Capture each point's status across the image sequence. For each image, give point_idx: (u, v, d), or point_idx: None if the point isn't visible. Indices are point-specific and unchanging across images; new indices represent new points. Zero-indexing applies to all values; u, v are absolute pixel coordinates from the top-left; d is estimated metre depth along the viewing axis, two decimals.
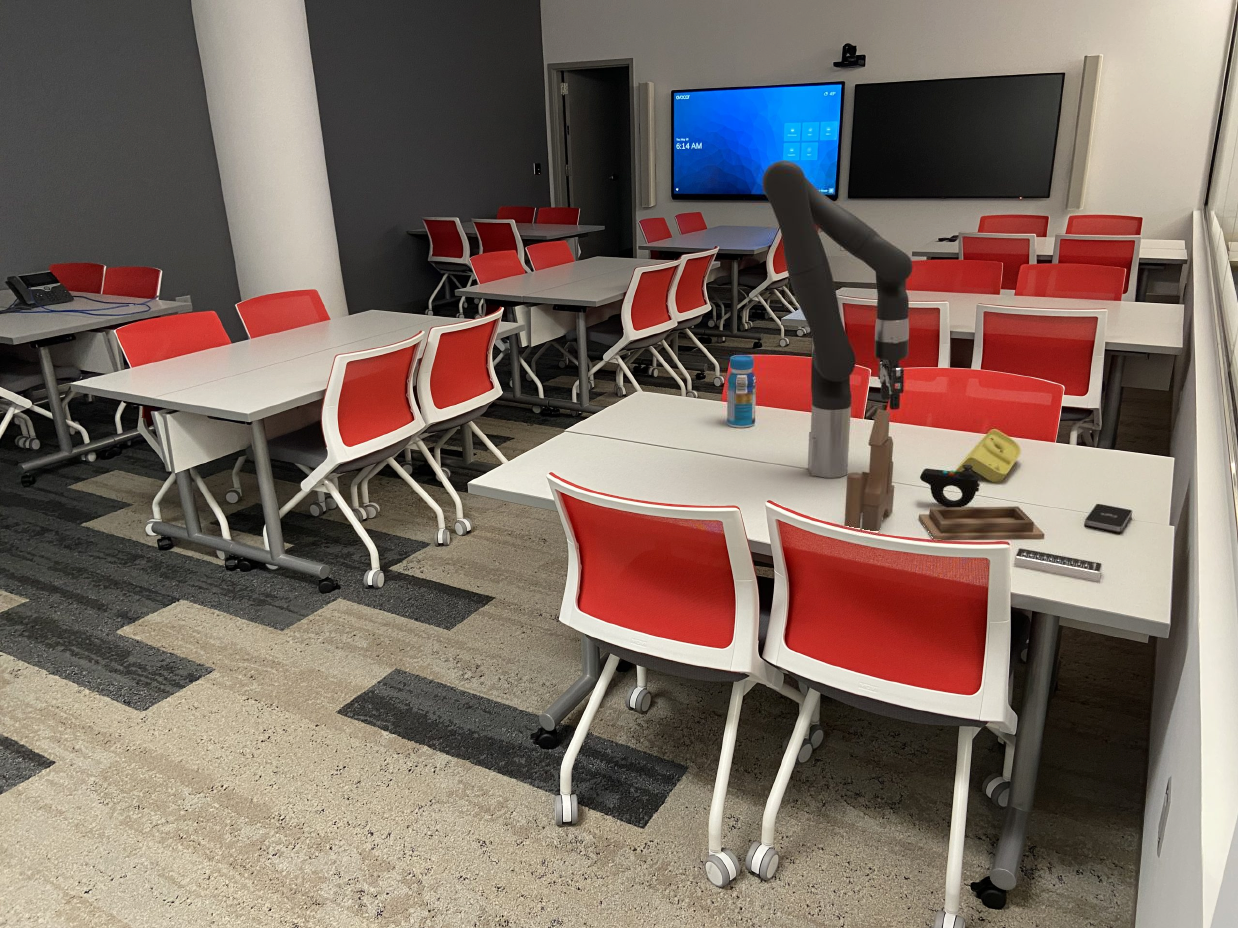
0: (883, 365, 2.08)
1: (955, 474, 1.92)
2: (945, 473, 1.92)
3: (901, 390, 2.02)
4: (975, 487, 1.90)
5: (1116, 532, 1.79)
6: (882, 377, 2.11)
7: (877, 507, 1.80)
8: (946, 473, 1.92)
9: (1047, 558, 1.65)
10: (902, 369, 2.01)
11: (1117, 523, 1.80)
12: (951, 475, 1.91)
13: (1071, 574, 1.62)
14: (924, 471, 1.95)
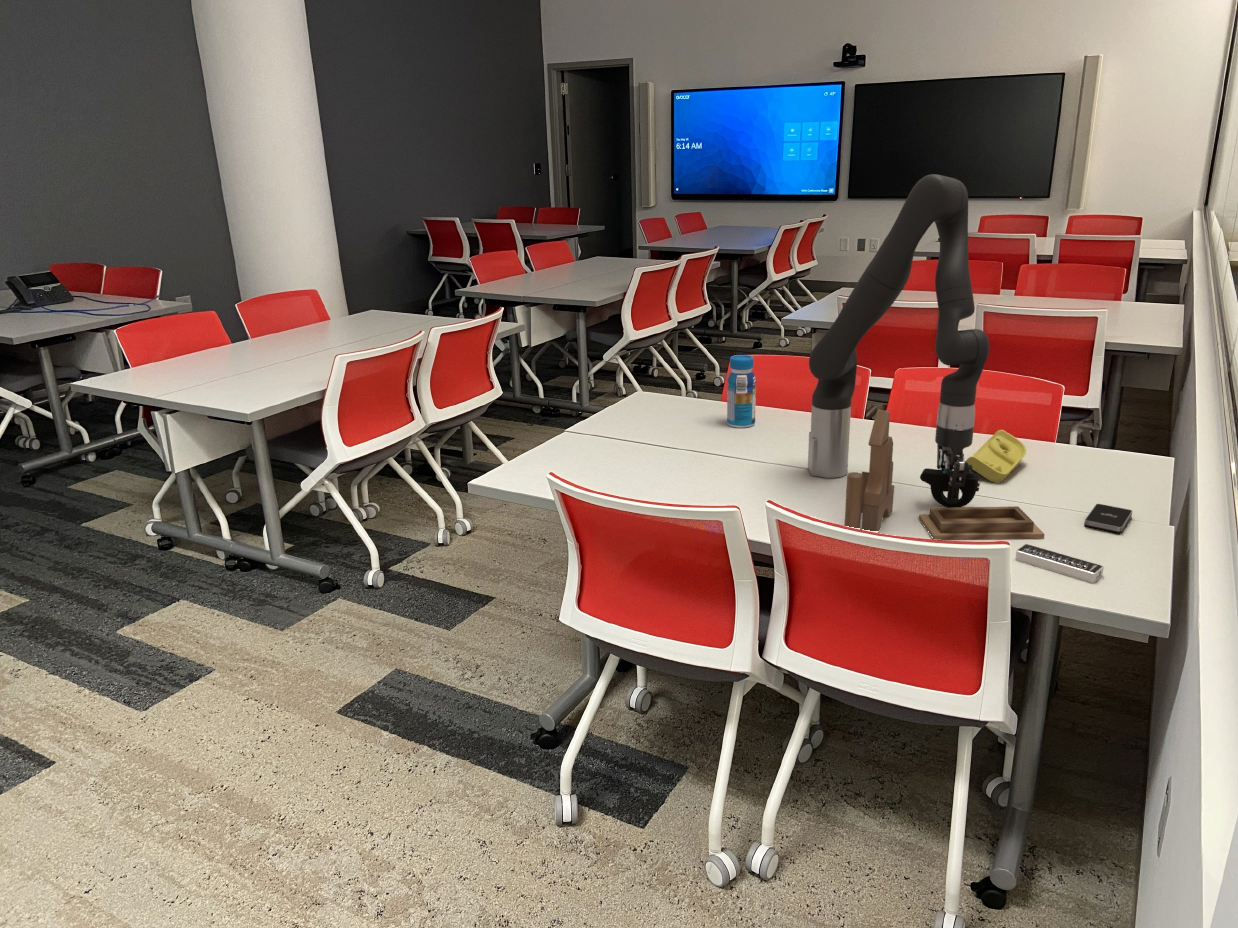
0: (943, 451, 1.92)
1: None
2: (945, 473, 1.93)
3: (962, 484, 1.87)
4: (975, 487, 1.90)
5: (1116, 532, 1.79)
6: (942, 466, 1.94)
7: (877, 507, 1.80)
8: None
9: (1048, 556, 1.67)
10: (966, 464, 1.85)
11: (1117, 523, 1.80)
12: None
13: (1068, 573, 1.63)
14: (924, 471, 1.95)
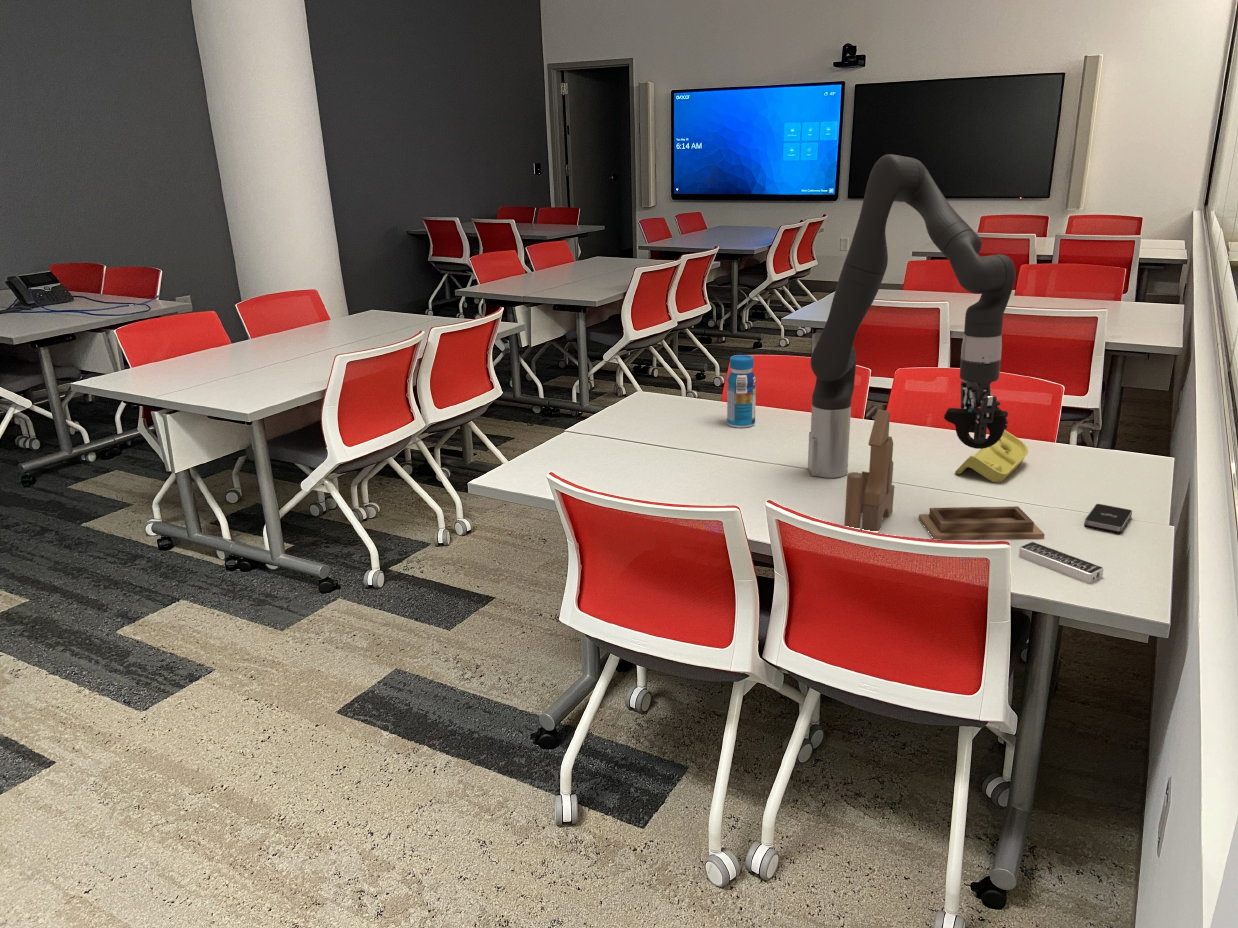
0: (968, 388, 1.81)
1: None
2: (971, 411, 1.82)
3: (990, 420, 1.76)
4: (1004, 424, 1.79)
5: (1116, 532, 1.79)
6: (967, 404, 1.84)
7: (877, 507, 1.80)
8: None
9: (1050, 554, 1.67)
10: (995, 398, 1.74)
11: (1117, 523, 1.80)
12: None
13: (1066, 572, 1.63)
14: (948, 410, 1.84)
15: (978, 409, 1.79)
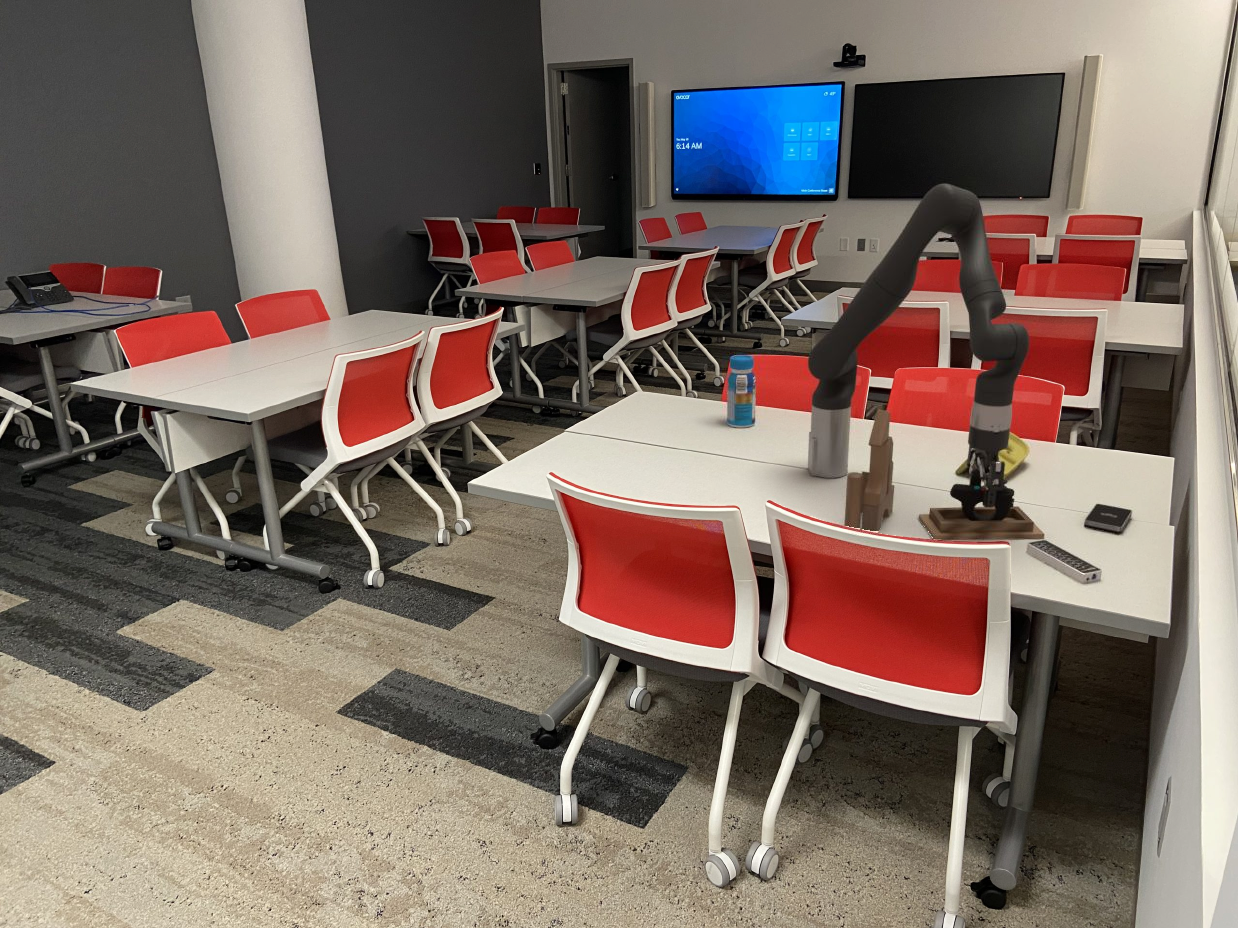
0: (977, 454, 1.79)
1: None
2: (977, 489, 1.81)
3: (1000, 487, 1.73)
4: (1010, 503, 1.78)
5: (1116, 532, 1.79)
6: (973, 466, 1.82)
7: (877, 507, 1.80)
8: (978, 489, 1.81)
9: (1054, 552, 1.68)
10: (1003, 464, 1.72)
11: (1117, 523, 1.80)
12: None
13: (1063, 570, 1.64)
14: (954, 487, 1.82)
15: (987, 475, 1.76)
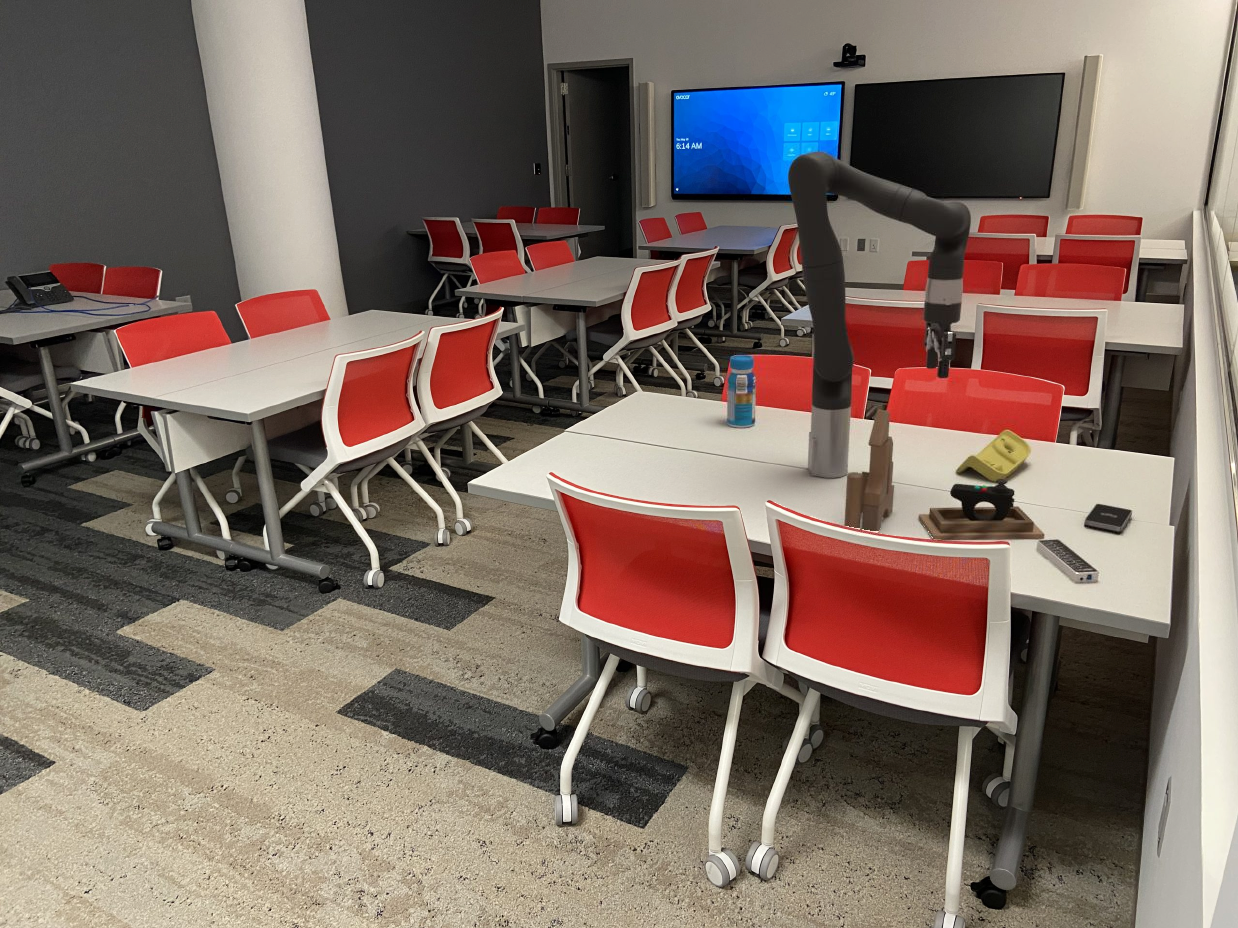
0: (932, 330, 1.92)
1: (988, 489, 1.81)
2: (977, 488, 1.81)
3: (952, 356, 1.86)
4: (1010, 503, 1.78)
5: (1116, 532, 1.79)
6: (929, 344, 1.95)
7: (877, 507, 1.80)
8: (978, 488, 1.81)
9: (1059, 551, 1.68)
10: (954, 333, 1.85)
11: (1117, 523, 1.80)
12: (984, 490, 1.80)
13: (1062, 569, 1.64)
14: (954, 487, 1.83)
15: (940, 347, 1.89)
